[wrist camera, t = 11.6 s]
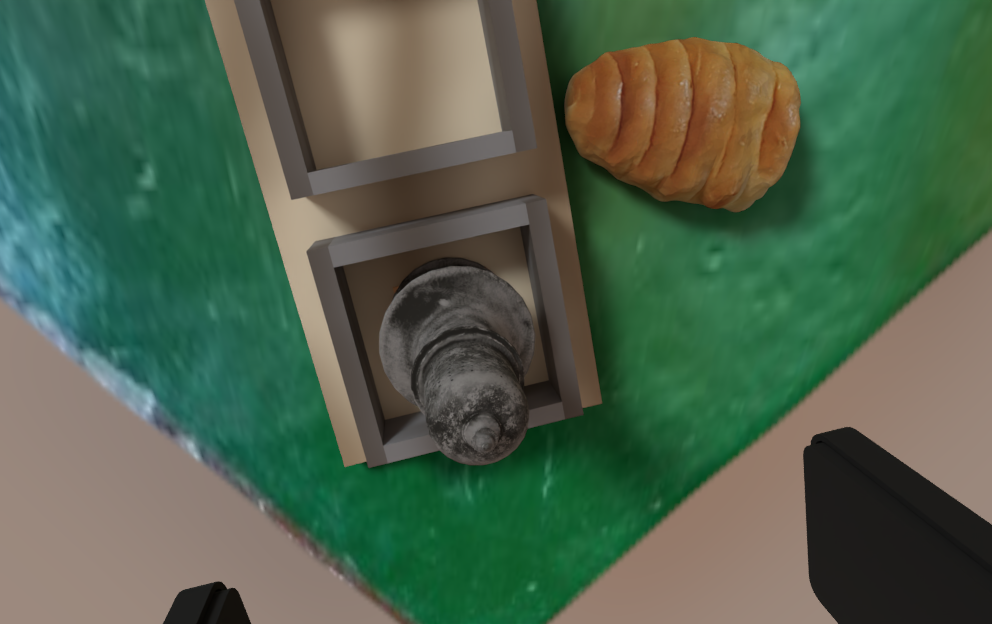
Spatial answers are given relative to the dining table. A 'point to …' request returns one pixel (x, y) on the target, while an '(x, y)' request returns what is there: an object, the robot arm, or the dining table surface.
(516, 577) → the dining table surface
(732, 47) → the pastry
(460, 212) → the collar board
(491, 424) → the salt shaker
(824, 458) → the robot arm
